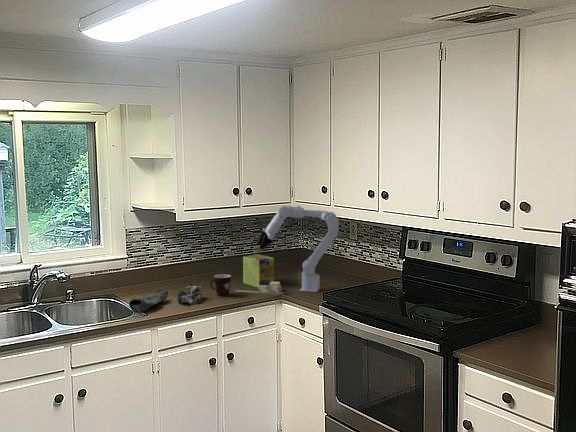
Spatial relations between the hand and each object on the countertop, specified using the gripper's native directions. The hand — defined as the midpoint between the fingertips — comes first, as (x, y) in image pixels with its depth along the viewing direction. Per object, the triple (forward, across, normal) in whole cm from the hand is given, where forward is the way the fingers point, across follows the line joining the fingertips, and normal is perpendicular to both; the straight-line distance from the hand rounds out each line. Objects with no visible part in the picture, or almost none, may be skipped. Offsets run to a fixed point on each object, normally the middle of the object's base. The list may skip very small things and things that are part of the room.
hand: (260, 246), depth 331 cm
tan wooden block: (+17, +9, +16) cm, 25 cm away
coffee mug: (+32, +8, -5) cm, 33 cm away
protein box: (+20, -12, +15) cm, 28 cm away
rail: (+20, +7, +12) cm, 24 cm away
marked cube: (+15, +4, +19) cm, 25 cm away
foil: (+39, +18, -18) cm, 47 cm away
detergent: (+50, +22, -34) cm, 64 cm away
